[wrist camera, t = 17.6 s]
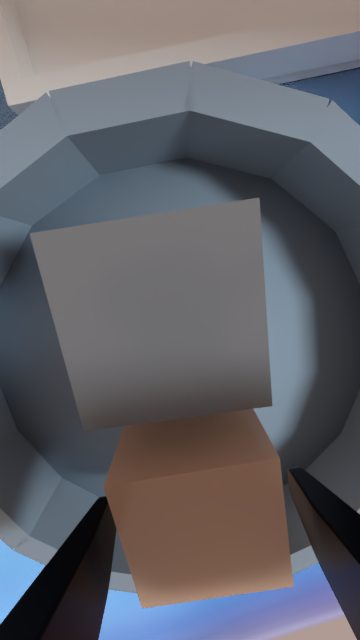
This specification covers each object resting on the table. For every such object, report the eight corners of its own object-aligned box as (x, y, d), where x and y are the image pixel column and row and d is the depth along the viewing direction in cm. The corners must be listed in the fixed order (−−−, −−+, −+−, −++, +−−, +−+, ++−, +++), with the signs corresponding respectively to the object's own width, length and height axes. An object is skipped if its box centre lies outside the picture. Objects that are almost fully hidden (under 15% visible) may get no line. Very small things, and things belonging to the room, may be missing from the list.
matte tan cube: (235, 375, 10) (279, 457, 6) (247, 459, 11) (293, 586, 7) (135, 392, 10) (102, 486, 6) (156, 474, 11) (142, 608, 7)
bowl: (384, 92, 8) (499, -6, 5) (378, 491, 12) (442, 562, 9) (-91, 188, 9) (-226, 150, 6) (50, 540, 13) (12, 622, 10)
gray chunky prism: (218, 233, 9) (259, 197, 4) (230, 343, 10) (272, 406, 5) (103, 250, 9) (29, 233, 4) (125, 358, 10) (83, 431, 5)
